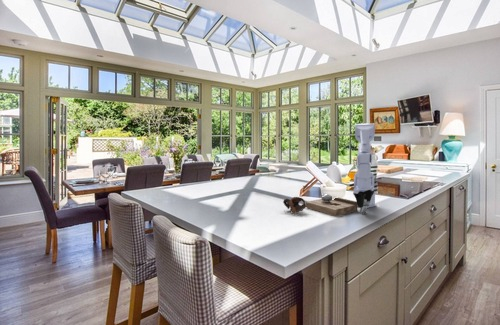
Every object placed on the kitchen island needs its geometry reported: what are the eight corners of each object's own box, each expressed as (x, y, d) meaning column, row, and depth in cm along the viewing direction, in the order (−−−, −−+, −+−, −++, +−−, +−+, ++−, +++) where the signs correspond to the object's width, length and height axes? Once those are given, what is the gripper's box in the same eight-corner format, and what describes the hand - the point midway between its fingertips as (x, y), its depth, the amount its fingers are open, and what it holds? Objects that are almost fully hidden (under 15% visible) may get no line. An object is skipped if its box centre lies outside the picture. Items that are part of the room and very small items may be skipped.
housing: (327, 202, 163) (327, 195, 162) (357, 210, 146) (357, 201, 145) (305, 207, 154) (305, 199, 154) (335, 215, 137) (335, 206, 137)
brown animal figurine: (307, 210, 151) (309, 198, 146) (301, 222, 144) (303, 210, 139) (285, 202, 155) (286, 191, 150) (278, 214, 148) (279, 202, 143)
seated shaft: (326, 206, 156) (326, 193, 155) (333, 208, 152) (333, 194, 151) (319, 207, 153) (319, 194, 153) (326, 209, 149) (326, 196, 148)
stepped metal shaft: (362, 211, 144) (362, 197, 143) (371, 213, 140) (371, 199, 139) (355, 213, 141) (355, 199, 141) (364, 215, 137) (364, 201, 136)
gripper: (364, 175, 146) (363, 202, 148) (347, 179, 137) (347, 207, 139) (377, 177, 141) (377, 204, 142) (361, 180, 132) (361, 210, 133)
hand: (363, 206), depth 140 cm, fingers closed on stepped metal shaft, 5 cm apart
